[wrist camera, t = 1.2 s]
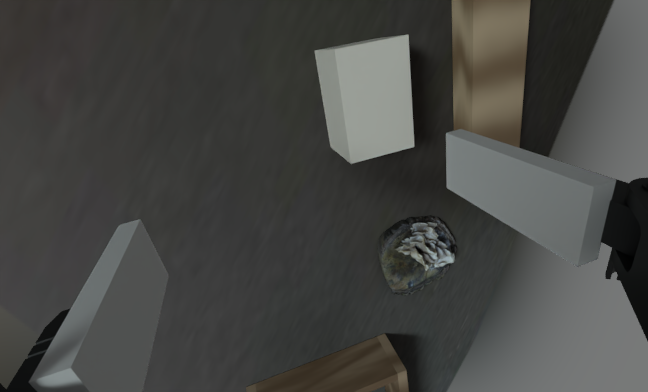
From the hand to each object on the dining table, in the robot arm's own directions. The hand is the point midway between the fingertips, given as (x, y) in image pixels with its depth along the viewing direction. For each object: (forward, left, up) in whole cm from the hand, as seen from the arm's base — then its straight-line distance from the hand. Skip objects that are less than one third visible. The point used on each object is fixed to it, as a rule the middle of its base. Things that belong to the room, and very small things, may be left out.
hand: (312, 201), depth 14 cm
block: (-1, +9, -19) cm, 21 cm away
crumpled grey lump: (+20, +14, -19) cm, 31 cm away
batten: (-1, +23, -19) cm, 30 cm away
